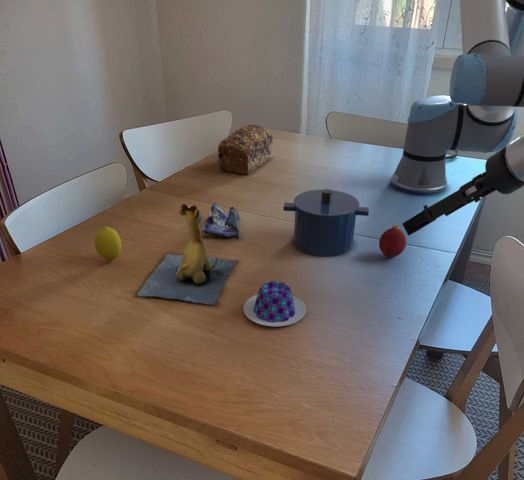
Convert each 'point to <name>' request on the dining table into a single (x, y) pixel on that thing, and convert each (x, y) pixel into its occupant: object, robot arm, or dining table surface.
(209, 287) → the stuffed giraffe
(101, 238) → the lemon
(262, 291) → the pudding
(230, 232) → the snack package
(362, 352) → the dining table surface
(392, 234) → the onion
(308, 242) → the pot
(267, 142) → the bread
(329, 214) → the pot lid
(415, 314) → the dining table surface
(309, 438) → the dining table surface
